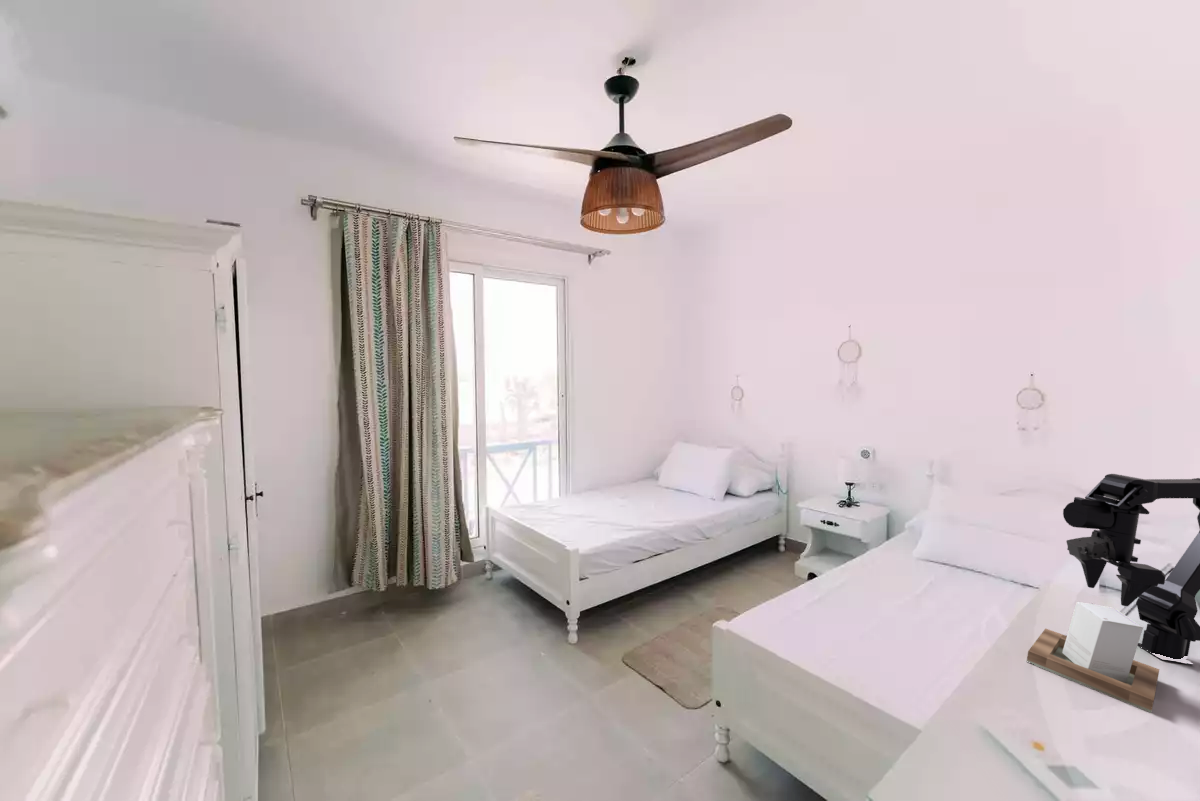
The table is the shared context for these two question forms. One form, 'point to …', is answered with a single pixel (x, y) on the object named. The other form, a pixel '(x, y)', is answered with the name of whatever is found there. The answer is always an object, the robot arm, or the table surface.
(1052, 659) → the pocket board
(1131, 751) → the table surface
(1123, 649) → the supplement box
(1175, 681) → the table surface
